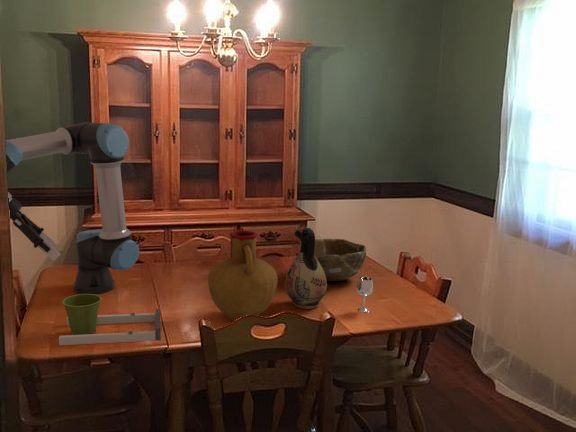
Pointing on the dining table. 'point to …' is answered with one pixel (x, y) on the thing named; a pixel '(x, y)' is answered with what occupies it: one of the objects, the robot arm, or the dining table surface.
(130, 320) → the guide channel
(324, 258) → the bowl
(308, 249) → the ceramic jug
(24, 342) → the dining table surface
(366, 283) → the wineglass
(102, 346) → the dining table surface
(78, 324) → the plant pot
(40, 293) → the dining table surface
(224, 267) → the vase
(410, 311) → the dining table surface
